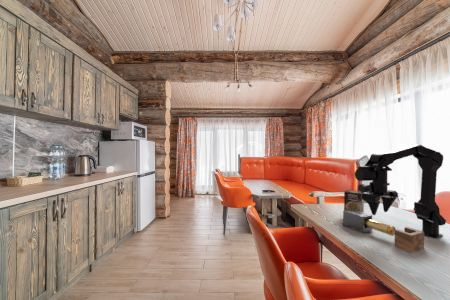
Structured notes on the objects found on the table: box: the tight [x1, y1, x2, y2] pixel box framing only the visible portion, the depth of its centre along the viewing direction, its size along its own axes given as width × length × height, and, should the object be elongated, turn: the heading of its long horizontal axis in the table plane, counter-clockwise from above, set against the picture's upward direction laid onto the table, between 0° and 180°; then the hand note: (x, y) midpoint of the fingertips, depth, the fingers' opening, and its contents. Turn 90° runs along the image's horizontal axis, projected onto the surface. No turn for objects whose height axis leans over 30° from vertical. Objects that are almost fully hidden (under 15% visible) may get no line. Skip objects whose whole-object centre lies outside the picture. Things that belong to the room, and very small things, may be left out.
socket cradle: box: [394, 226, 425, 254], centre depth 87 cm, size 9×6×7 cm, turn 113°
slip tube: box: [365, 218, 397, 237], centre depth 102 cm, size 4×20×4 cm, turn 23°
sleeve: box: [342, 209, 373, 234], centre depth 108 cm, size 7×11×8 cm, turn 23°
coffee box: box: [343, 189, 365, 213], centre depth 121 cm, size 9×6×16 cm
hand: (379, 213), depth 97 cm, fingers open, 9 cm apart
